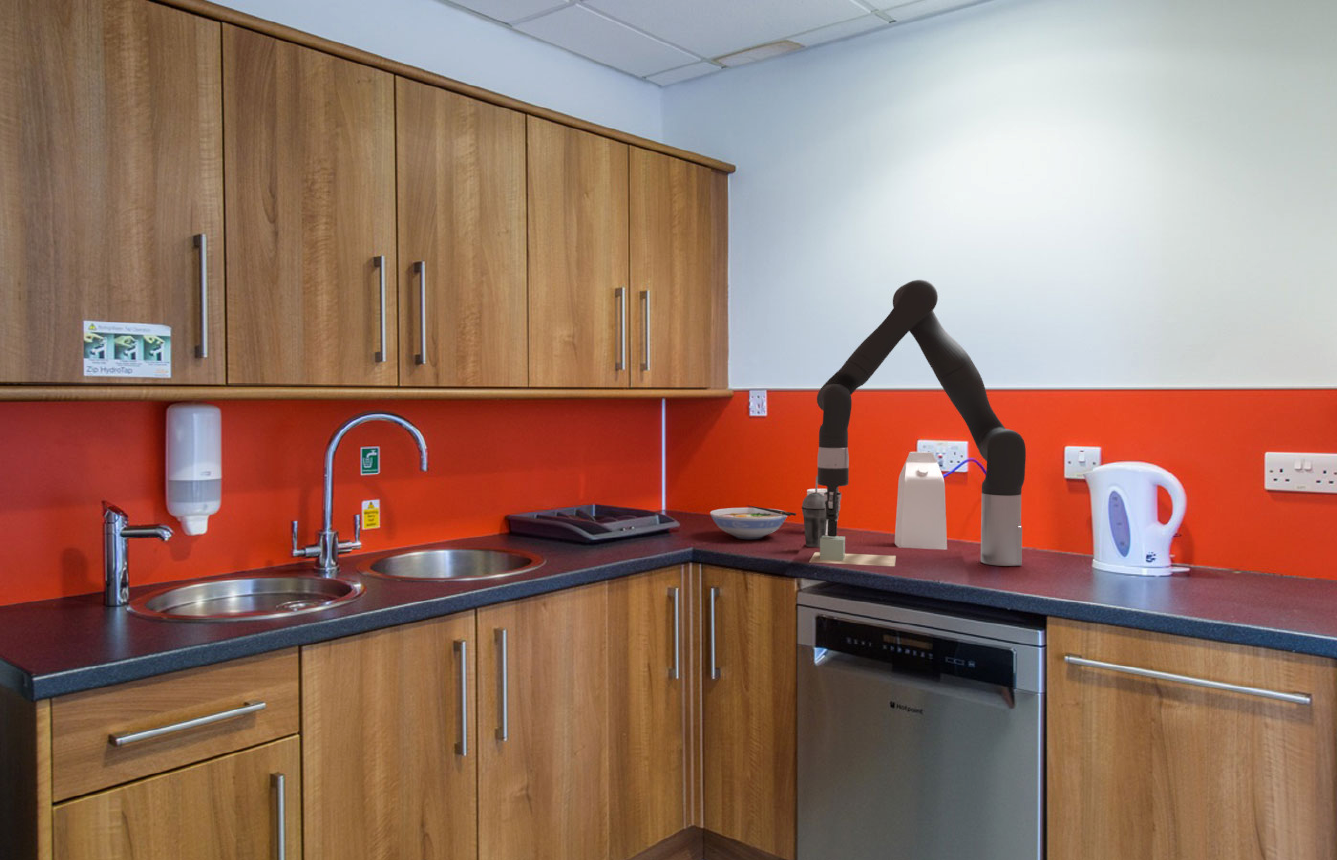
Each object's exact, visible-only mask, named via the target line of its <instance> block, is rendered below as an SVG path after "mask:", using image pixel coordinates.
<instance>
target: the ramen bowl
mask: <svg viewBox="0 0 1337 860" xmlns="http://www.w3.org/2000/svg"><path fill="white" fill-rule="evenodd" d="M709 514H710V516H711V518H712V520H713V521H714V523H715V524H716V525H717V527H718V528H719V529H721V530H722V531H723V532H725V533H727V534H729V535H732V536H734V537H735V538H736V539H740V540H760V539H762V538H764V537H765V536H767V535H770V534H773V533H774V532H776V531H777V530H779V529H780V528H781V526H783V524H784V522H785V521H786V519H787V517H791V516H797V513H796V512H789V511H785V510H783V509H782V510H781V509H775V508H766V507H761V506H753V505H748V504H747V505H745V506H744V507H730V508H729V507H727V508H718V509H714V510H711V511H710V512H709Z"/></svg>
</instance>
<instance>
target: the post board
mask: <svg viewBox="0 0 1337 860" xmlns="http://www.w3.org/2000/svg"><path fill="white" fill-rule="evenodd" d="M896 558H897V555H884V554H883V555H882V554H881V555H880V554H864V553H863V554H862V553H861V554H860V553H859V554H858V553H845V558H844V560H843V561H840V560H820V551H818V552H817V551H815V552H814V553H813V555H812V557H811V558H810V559H809V562H808V563H814V564H817V563H818V564H837V565H853V566H854V565H857V566H859V565H860V566H876V567H877V566H879V567H896Z"/></svg>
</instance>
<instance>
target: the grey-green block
mask: <svg viewBox="0 0 1337 860" xmlns="http://www.w3.org/2000/svg"><path fill="white" fill-rule="evenodd" d="M819 552H820V560H840V561H843V560H844V558H845V554H846V536H839V535H837V536H836V537H830V536H828V535H825V536H822V537H821V538H820V547H819Z"/></svg>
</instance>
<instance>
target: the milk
mask: <svg viewBox="0 0 1337 860" xmlns="http://www.w3.org/2000/svg"><path fill="white" fill-rule="evenodd" d="M944 479H945V478H944V475H943V473H942V471H941V468H940V466H939V463H938V461H937V458H936V456H935V455H934V453H933V452H932V451H910V452H909V453H908V456H907V458H906V460H905V462H904V464H903V467H902V469H901V471H900V473H899V476H898V486H897V497H896V498H897V501H896V513H895V514H896V517H895V529H894V530H895V531H894V544H895V546H896V547H897V548H899V549H901V548H904V549H923V550H925V549H927V550H948V542H947V541H948V539H947V514H946V513H947V512H946V507H947V506H946V484H945V480H944Z"/></svg>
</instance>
